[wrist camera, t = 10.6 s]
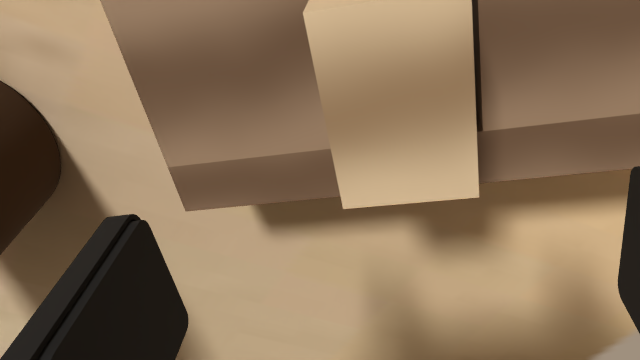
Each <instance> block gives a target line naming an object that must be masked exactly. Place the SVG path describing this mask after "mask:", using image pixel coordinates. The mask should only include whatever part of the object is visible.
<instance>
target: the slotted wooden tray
mask: <svg viewBox="0 0 640 360" xmlns="http://www.w3.org/2000/svg"><path fill="white" fill-rule="evenodd" d="M100 1H101V3H102V6H103V8H104V11H105V13H106V16H107V18H108V21H109V23H110V26H111V28H112V31H113V33H114V36H115V38H116V40H117V43H118V45H119V48H120V50H121V53H122V55H123V58H124V60H125V63H126V65H127V68H128V70H129V73H130V75H131V77H132V80H133V82H134V85H135V87H136V90H137V92H138V95H139V97H140V100H141V102H142V105H143V107H144V110H145V112H146V114H147V117H148V119H149V122H150V124H151V127H152V129H153V132H154V134H155V137H156V139H157V142H158V144H159V147H160V149H161V152H162V154H163V156H164V159H165V161H166V164H167V166H168V169H169V171H170V174H171V176H172V179H173V181H174V184H175V186H176V189H177V191H178V193H179V196H180V198H181V201H182V203H183V206H184V208H185V211H194V210H205V209H215V208H226V207H236V206H247V205H257V204H268V203H278V202H289V201H299V200H310V199H320V198H331V197H341V196H340V191H339V187H338V182H337V177H336V172H335V167H334V162H333V157H332V153H331V148H330V143H329V138H328V133H327V128H326V123H325V118H324V114H323V109H322V104H321V99H320V94H319V89H318V84H317V80H316V75H315V70H314V65H313V60H312V55H311V50H310V45H309V41H308V36H307V31H306V26H305V21H304V16H303V11H304V9H305V7H306V5H307V3H308V1H309V0H100ZM472 21H473V47H474V73H475V99H476V125H477V151H478V177H479V183H488V182H499V181H509V180H520V179H530V178H541V177H551V176H562V175H572V174H583V173H593V172H604V171H614V170H625V169H633V168H634V167H636V166H640V0H472Z"/></svg>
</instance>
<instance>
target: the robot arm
mask: <svg viewBox="0 0 640 360" xmlns="http://www.w3.org/2000/svg"><path fill="white" fill-rule="evenodd" d="M618 289H619V294H620V297H621V299H622V302H623V303H624V305H625V307H626V309H627V311H628V313H629V315H630V317H631V318H632V320H633V322H634V324H635V326H636V328H637V330H638V331H639V333H640V166H636V167H634V168H633V169H632V171H631V175H630V182H629V191H628V199H627V208H626V216H625V224H624V233H623V241H622V250H621V258H620V266H619V275H618ZM187 328H188V314H187V311H186V309H185V306H184V304H183V302H182V299H181V297H180V295H179V293H178V290H177V288H176V286H175V283H174V281H173V279H172V276H171V274H170V272H169V270H168V267H167V265H166V263H165V260H164V258H163V256H162V253H161V251H160V249H159V247H158V244H157V242H156V240H155V237H154V235H153V233H152V231H151V228H150V226H149V224H148V223H147V222H146V221H145V220H141V219H140V218H139V217H138V216H137V215H134V214H130V215H121V216H112V217H107V218H106V219H105V220H104V221H103V222H102V223H101V225H100V226H99V227H98V229H97V230H96V231H95V233H94V234H93V235H92V237H91V238H90V239H89V241H88V242H87V243H86V245H85V246H84V247H83V249H82V250H81V251H80V253H79V254H78V255H77V257H76V258H75V260H74V261H73V262H72V264H71V265H70V266H69V268H68V269H67V270H66V272H65V273H64V274H63V276H62V277H61V278H60V280H59V281H58V282H57V284H56V285H55V286H54V288H53V289H52V290H51V292H50V293H49V294H48V296H47V297H46V298H45V300H44V301H43V302H42V304H41V305H40V306H39V308H38V309H37V310H36V312H35V313H34V314H33V316H32V317H31V319H30V320H29V321H28V323H27V324H26V325H25V327H24V328H23V329H22V331H21V332H20V333H19V335H18V336H17V337H16V339H15V340H14V341H13V343H12V344H11V345H10V347H9V348H8V349H7V351H6V352H5V353H4V355H3V356H2V357H1V359H0V360H175V358H176V356H177V353H178V351H179V349H180V346H181V344H182V341H183V339H184V336H185V334H186V331H187Z"/></svg>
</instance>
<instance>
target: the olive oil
mask: <svg viewBox="0 0 640 360" xmlns="http://www.w3.org/2000/svg"><path fill="white" fill-rule="evenodd" d="M60 172H61V162H60V155H59V151H58V147H57V145H56V142H55V139H54V137H53V135H52V133H51V131H50V130H49V128H48V126H47V125H46V123H45V122H44V120H43V119H42V117H41V116H40V115H39V114H38V112H37V111H36V110H35V109H34V108H33V107H32V106H31V105H30V104H29V103H28V102H27V101H26V100H25V99H24V98H23V97H22V96H21V95H19V94H18V93H17V92H15V91H14V90H13V89H11V88H10V87H9V86H7V85H5V84H4V83H2V82H1V81H0V255H1V253H2V252H3V251H4V250H5V249H6V247H7V246H8V245H9V244H10V243H11V242H12V240H13V239H14V238H15V237H16V236H17V235H18V233H19V232H20V231H21V230H22V229H23V228H24V226H25V225H26V224H27V223H28V222H29V221H30V220H31V218H32V217H33V216H34V215H35V214H36V213H37V211H38V210H39V209H40V208H41V207H42V206H43V204H44V203H45V202H46V201H47V200H48V198H49V197H50V196H51V195H52V193H53V192H54V190H55V188H56V186H57V184H58V181H59V178H60Z"/></svg>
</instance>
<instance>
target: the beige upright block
mask: <svg viewBox="0 0 640 360" xmlns="http://www.w3.org/2000/svg"><path fill="white" fill-rule="evenodd" d="M303 16H304V21H305V26H306V31H307V36H308V41H309V45H310V50H311V55H312V60H313V65H314V70H315V75H316V80H317V84H318V89H319V94H320V99H321V104H322V109H323V114H324V118H325V123H326V128H327V133H328V138H329V143H330V148H331V153H332V157H333V162H334V167H335V172H336V177H337V182H338V187H339V191H340V196H341V201H342V206H343V209H350V208H362V207H373V206H385V205H397V204H408V203H420V202H431V201H443V200H455V199H466V198H478V197H479V177H478V151H477V125H476V99H475V73H474V47H473V21H472V0H309V1H308V3H307V5H306V7H305V9H304V11H303Z"/></svg>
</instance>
